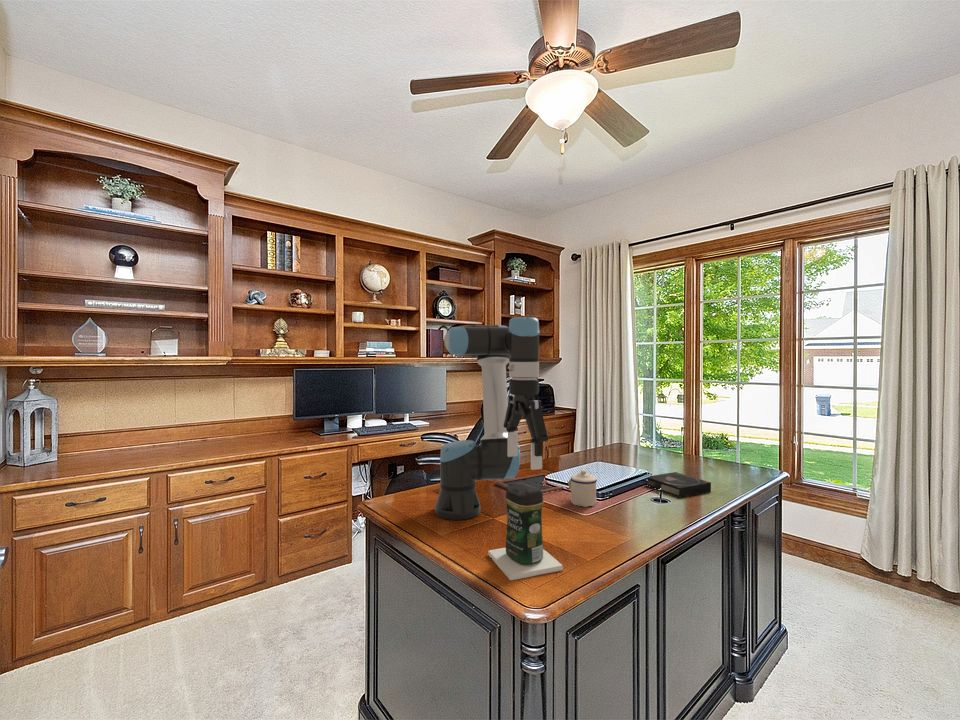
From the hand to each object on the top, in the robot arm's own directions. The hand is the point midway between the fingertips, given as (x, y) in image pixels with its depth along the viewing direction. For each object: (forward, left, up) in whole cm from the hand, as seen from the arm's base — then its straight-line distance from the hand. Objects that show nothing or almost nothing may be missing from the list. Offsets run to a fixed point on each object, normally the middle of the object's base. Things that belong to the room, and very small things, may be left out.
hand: (523, 462), depth 112 cm
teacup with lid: (-34, +39, -26) cm, 58 cm away
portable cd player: (-34, +83, -26) cm, 93 cm away
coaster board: (0, 0, -25) cm, 25 cm away
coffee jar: (0, 0, -24) cm, 24 cm away
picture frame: (-57, +33, -26) cm, 70 cm away
